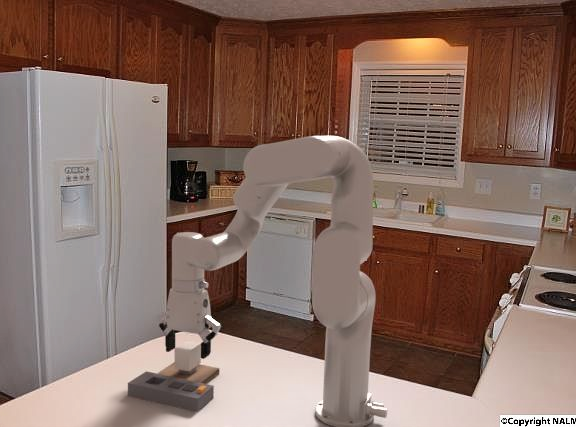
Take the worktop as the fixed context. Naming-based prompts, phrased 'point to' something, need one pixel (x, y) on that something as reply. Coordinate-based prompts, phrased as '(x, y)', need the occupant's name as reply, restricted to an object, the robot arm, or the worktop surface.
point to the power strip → (171, 391)
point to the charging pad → (200, 375)
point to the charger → (187, 357)
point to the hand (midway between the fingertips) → (187, 353)
